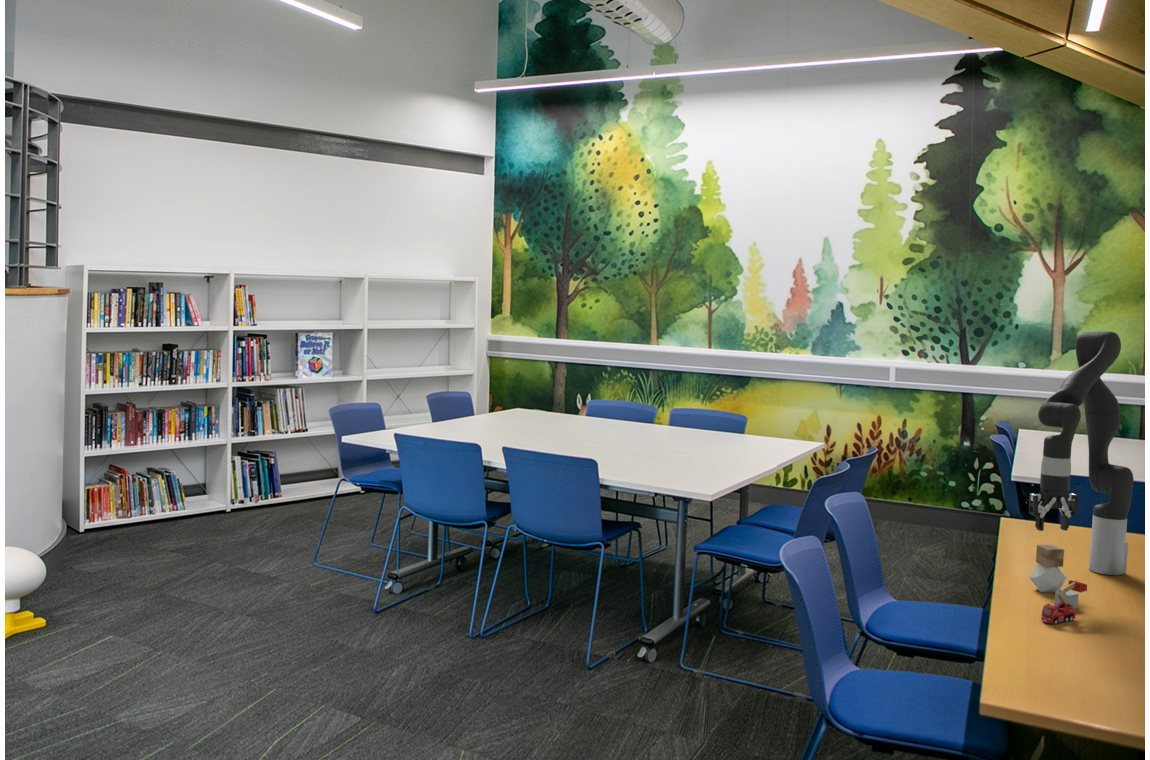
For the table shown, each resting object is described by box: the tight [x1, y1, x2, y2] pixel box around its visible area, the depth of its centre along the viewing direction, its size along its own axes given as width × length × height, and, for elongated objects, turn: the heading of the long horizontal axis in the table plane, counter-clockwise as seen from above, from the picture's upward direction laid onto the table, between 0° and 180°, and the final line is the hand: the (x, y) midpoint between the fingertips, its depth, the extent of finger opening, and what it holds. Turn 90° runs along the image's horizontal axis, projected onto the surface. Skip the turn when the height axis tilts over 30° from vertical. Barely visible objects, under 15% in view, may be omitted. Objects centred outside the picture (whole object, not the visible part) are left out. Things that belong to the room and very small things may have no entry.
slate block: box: [1054, 590, 1079, 610], centre depth 255 cm, size 4×4×4 cm
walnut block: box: [1035, 544, 1065, 568], centre depth 269 cm, size 5×5×5 cm
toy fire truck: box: [1040, 579, 1088, 625], centre depth 244 cm, size 3×14×10 cm, turn 118°
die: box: [1029, 562, 1068, 593], centre depth 269 cm, size 8×9×10 cm
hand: (1051, 529), depth 268 cm, fingers open, 7 cm apart
